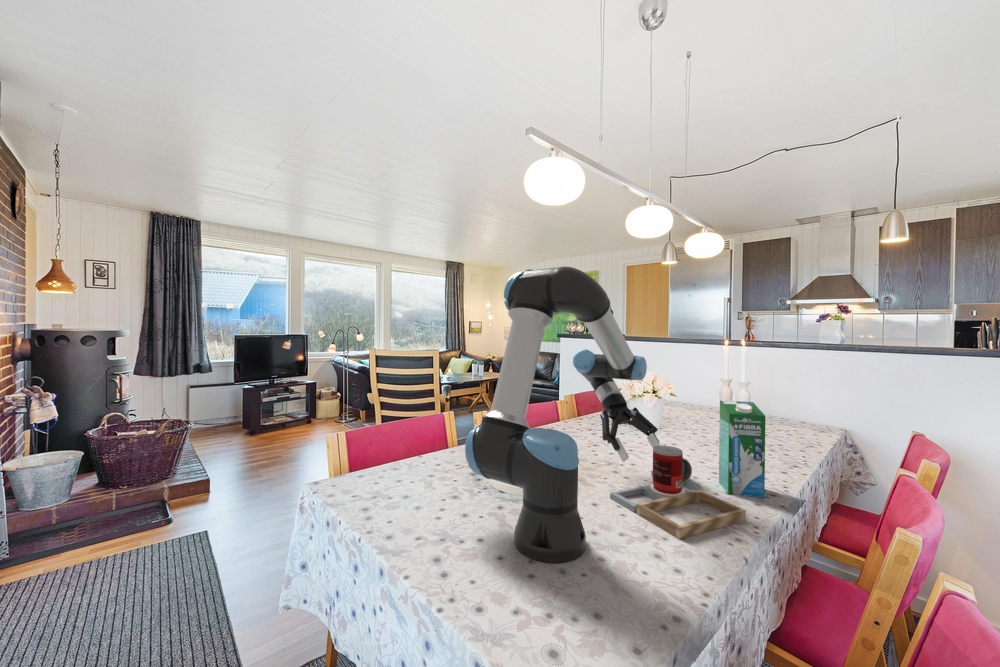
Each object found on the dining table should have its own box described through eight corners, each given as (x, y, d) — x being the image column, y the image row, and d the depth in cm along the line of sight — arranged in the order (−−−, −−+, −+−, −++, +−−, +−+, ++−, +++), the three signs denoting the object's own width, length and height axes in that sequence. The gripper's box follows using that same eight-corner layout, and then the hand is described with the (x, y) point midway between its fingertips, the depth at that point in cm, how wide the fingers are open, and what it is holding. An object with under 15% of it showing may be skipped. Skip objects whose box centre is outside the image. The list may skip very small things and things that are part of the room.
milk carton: (728, 494, 111) (729, 405, 111) (718, 482, 119) (719, 400, 119) (764, 497, 109) (765, 407, 108) (752, 485, 117) (753, 401, 117)
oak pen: (679, 539, 86) (679, 527, 86) (636, 513, 98) (636, 503, 98) (745, 520, 95) (745, 510, 95) (699, 499, 107) (699, 490, 107)
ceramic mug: (677, 473, 127) (677, 449, 126) (692, 483, 118) (692, 457, 118) (645, 475, 125) (645, 451, 125) (659, 485, 117) (659, 459, 117)
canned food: (679, 485, 113) (680, 446, 113) (684, 496, 105) (685, 454, 105) (651, 482, 115) (651, 444, 115) (654, 492, 107) (654, 452, 107)
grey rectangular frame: (633, 512, 99) (633, 505, 99) (610, 498, 107) (610, 492, 107) (695, 497, 108) (696, 491, 108) (669, 485, 116) (669, 480, 116)
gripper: (634, 402, 139) (667, 457, 126) (575, 407, 129) (604, 468, 116) (645, 389, 134) (681, 445, 121) (585, 394, 124) (616, 455, 111)
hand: (643, 456), depth 118 cm, fingers open, 13 cm apart
